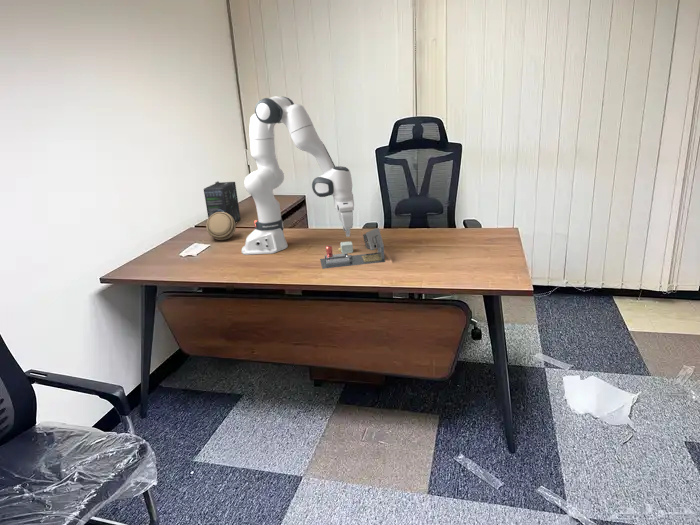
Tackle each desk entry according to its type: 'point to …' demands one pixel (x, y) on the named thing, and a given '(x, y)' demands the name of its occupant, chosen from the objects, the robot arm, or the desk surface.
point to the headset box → (222, 199)
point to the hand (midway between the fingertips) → (346, 233)
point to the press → (355, 259)
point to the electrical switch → (372, 238)
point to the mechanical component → (221, 225)
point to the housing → (346, 247)
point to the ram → (331, 256)
